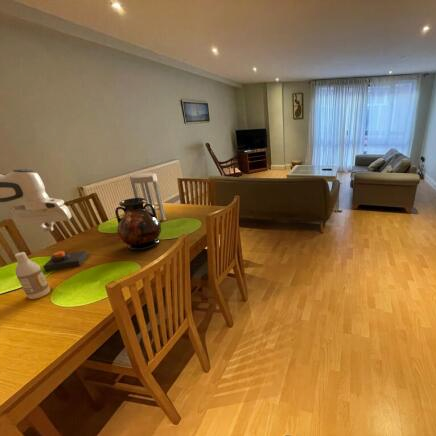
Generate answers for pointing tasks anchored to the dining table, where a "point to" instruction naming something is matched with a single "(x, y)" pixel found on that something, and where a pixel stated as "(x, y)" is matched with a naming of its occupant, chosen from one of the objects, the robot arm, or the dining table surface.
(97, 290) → the dining table surface
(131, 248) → the amphora vase
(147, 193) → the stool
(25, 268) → the bath foam
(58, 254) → the button
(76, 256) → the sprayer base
